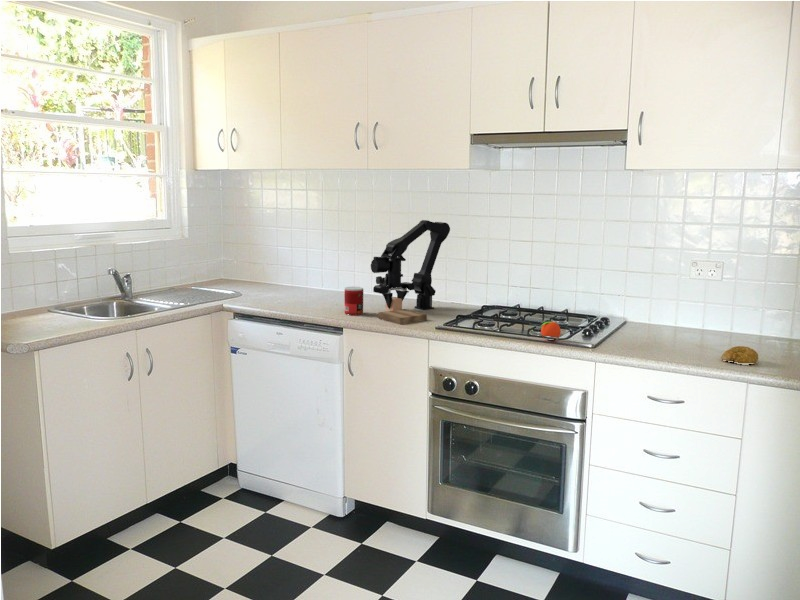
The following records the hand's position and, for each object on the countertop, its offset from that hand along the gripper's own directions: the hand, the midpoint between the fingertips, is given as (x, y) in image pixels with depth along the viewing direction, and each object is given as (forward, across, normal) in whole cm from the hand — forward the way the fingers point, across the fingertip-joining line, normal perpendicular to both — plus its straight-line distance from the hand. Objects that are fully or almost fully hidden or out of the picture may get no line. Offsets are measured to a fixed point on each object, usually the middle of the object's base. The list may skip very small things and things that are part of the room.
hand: (393, 307), depth 289 cm
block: (+1, 0, 0) cm, 1 cm away
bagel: (+2, -37, +129) cm, 135 cm away
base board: (+2, +8, +15) cm, 17 cm away
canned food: (+2, +17, -6) cm, 18 cm away
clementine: (+2, -11, +74) cm, 75 cm away
